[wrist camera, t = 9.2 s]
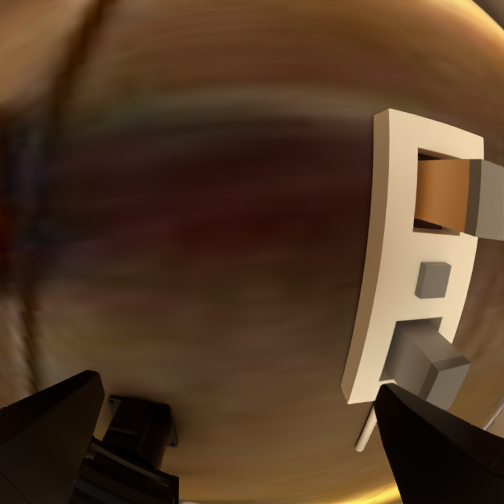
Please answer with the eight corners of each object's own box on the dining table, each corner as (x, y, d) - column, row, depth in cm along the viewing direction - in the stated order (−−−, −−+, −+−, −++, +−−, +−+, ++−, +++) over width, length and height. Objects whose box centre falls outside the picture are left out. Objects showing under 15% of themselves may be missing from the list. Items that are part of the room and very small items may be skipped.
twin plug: (406, 352, 22) (449, 408, 14) (378, 356, 22) (417, 417, 14) (418, 313, 21) (471, 363, 13) (389, 315, 21) (439, 371, 13)
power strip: (391, 440, 25) (400, 459, 22) (320, 452, 25) (325, 474, 22) (464, 139, 17) (489, 137, 14) (373, 115, 17) (394, 105, 14)
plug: (434, 218, 19) (505, 240, 11) (404, 214, 19) (475, 236, 11) (438, 168, 18) (511, 170, 10) (408, 161, 18) (481, 159, 10)
